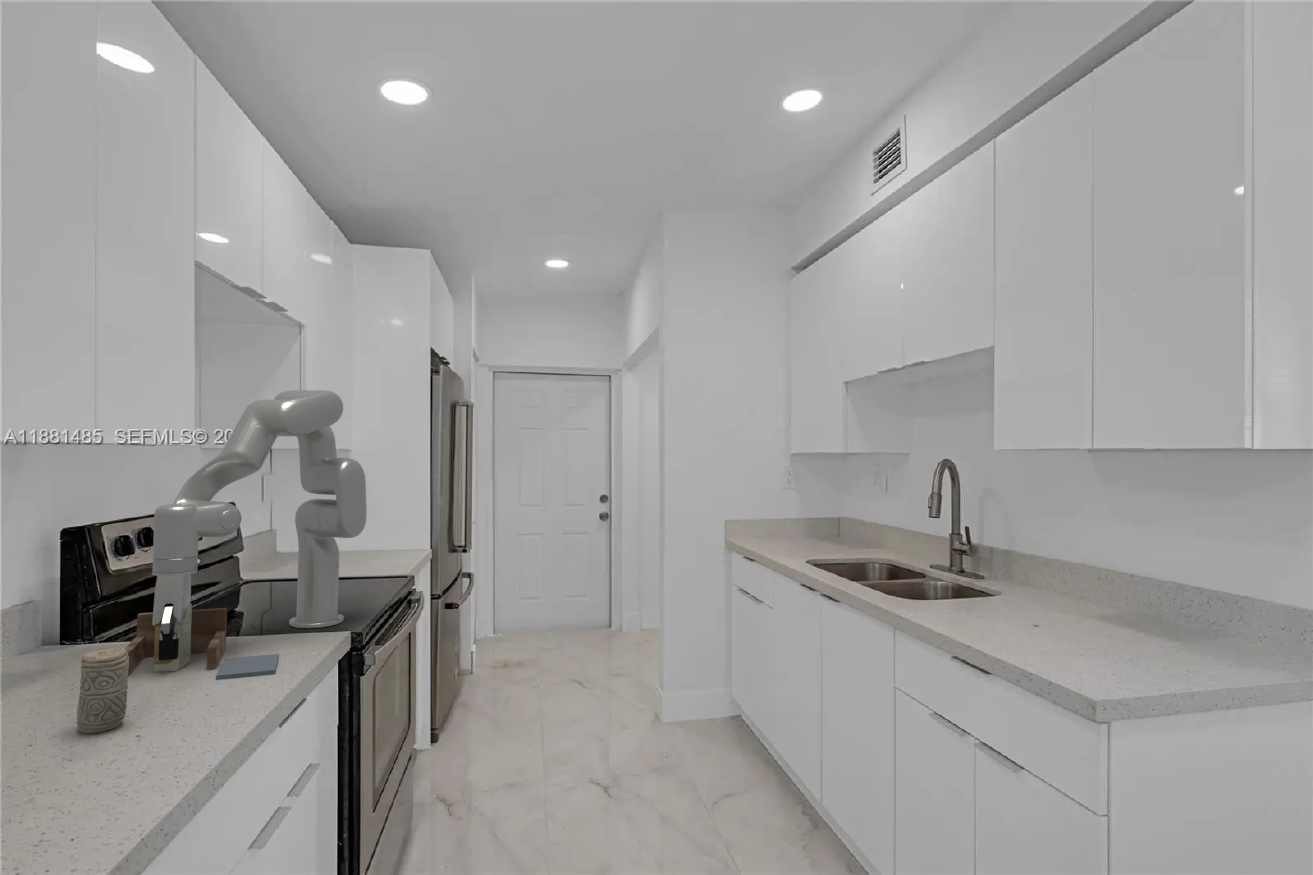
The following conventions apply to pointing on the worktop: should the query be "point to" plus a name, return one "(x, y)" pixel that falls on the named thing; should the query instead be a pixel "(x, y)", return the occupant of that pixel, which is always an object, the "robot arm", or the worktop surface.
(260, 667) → the slate pad
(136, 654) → the shelf bay
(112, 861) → the worktop surface
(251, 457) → the robot arm
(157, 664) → the skincare box
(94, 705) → the carving
